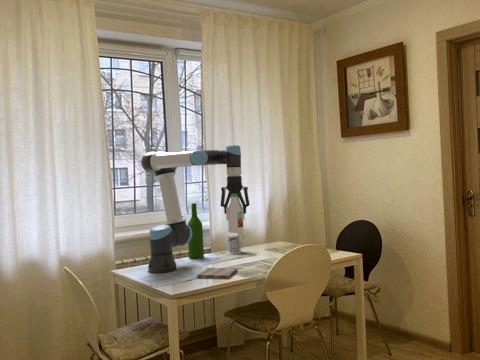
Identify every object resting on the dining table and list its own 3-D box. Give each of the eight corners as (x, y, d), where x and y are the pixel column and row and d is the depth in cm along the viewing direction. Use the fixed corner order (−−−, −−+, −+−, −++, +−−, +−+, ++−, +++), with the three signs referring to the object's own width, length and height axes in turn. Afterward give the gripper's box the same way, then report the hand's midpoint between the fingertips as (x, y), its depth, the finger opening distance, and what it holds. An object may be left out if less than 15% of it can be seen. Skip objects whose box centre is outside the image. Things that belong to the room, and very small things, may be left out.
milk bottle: (232, 233, 244) (231, 194, 244) (225, 231, 251) (224, 193, 250) (246, 232, 248) (245, 193, 247) (238, 230, 255) (237, 192, 254)
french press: (224, 252, 305) (222, 212, 304) (240, 250, 310) (239, 211, 309) (230, 254, 296) (228, 213, 295) (247, 252, 301) (245, 212, 300)
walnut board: (197, 278, 240) (197, 275, 240) (208, 270, 255) (208, 267, 255) (228, 278, 235) (228, 275, 235) (237, 271, 251) (237, 268, 251)
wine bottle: (205, 255, 296) (202, 202, 295) (201, 258, 287) (199, 204, 286) (191, 256, 297) (188, 203, 296) (187, 259, 289) (184, 204, 287)
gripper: (212, 176, 247) (214, 221, 248) (252, 175, 242) (253, 221, 243) (217, 175, 254) (218, 219, 255) (255, 174, 250) (256, 219, 251)
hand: (235, 220), depth 249 cm, fingers closed on milk bottle, 7 cm apart
